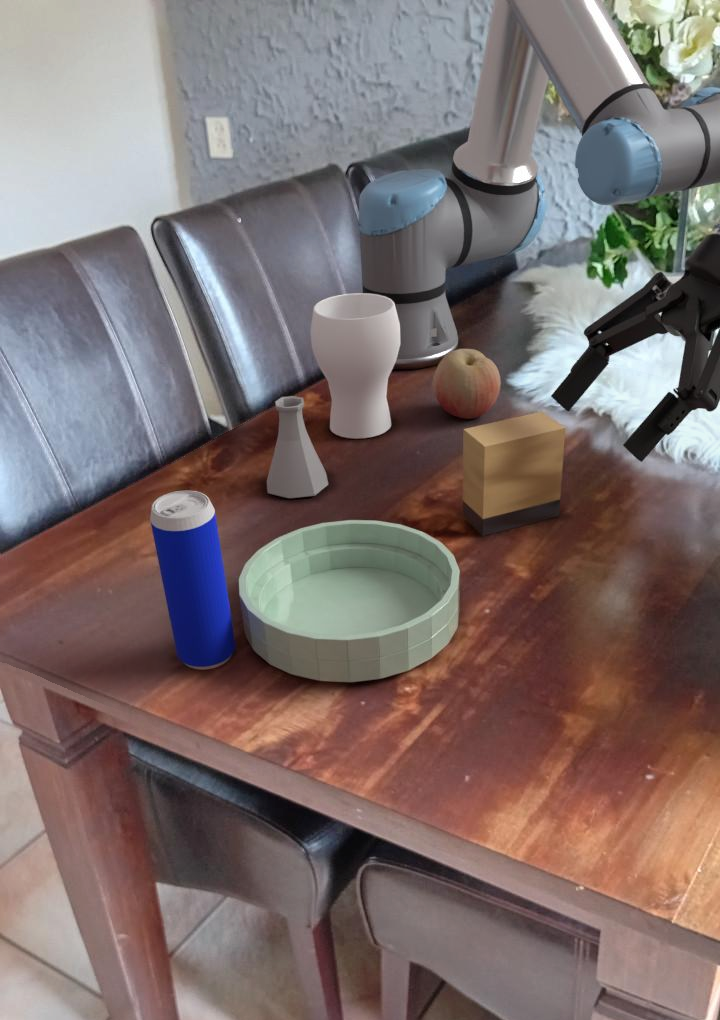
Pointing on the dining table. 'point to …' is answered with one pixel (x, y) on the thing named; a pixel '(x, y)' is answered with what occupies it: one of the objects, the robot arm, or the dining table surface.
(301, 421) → the flask
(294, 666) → the bowl
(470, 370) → the fruit
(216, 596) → the beverage can
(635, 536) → the dining table surface
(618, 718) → the dining table surface
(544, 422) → the eraser
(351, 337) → the cup
